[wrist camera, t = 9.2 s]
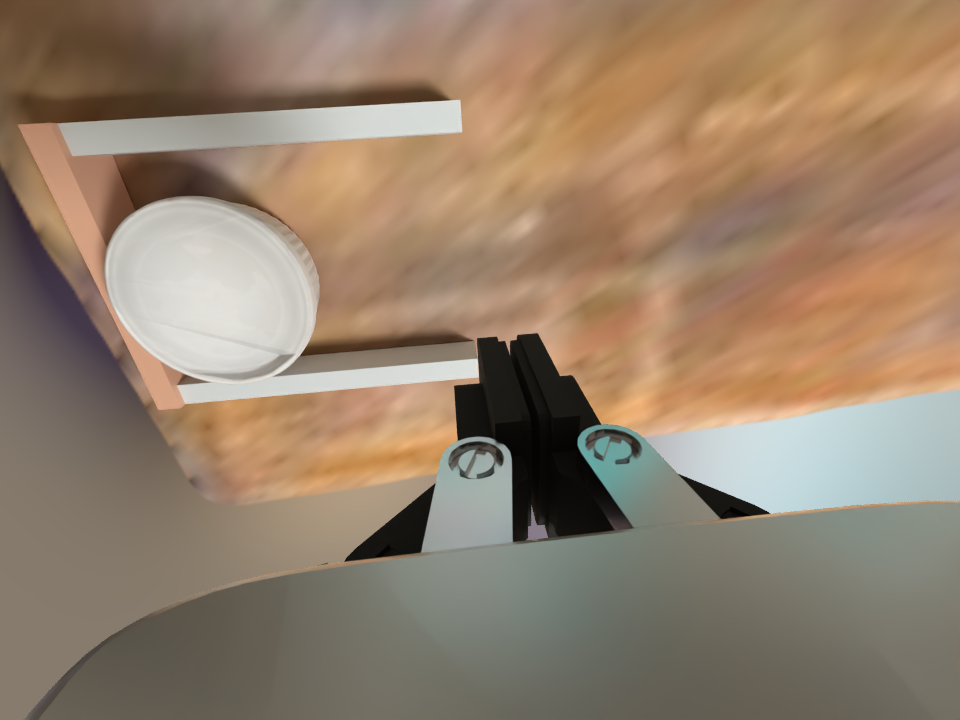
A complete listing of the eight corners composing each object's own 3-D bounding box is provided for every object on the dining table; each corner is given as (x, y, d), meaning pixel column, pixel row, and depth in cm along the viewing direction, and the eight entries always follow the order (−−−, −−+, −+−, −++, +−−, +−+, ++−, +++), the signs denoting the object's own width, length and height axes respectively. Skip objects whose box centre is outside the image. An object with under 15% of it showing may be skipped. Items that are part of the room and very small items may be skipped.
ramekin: (215, 366, 31) (175, 405, 27) (120, 215, 26) (50, 230, 21) (357, 328, 31) (343, 361, 26) (290, 167, 26) (256, 172, 21)
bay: (72, 127, 24) (17, 124, 21) (458, 104, 25) (460, 98, 22) (186, 384, 32) (158, 410, 28) (475, 358, 33) (479, 380, 30)
